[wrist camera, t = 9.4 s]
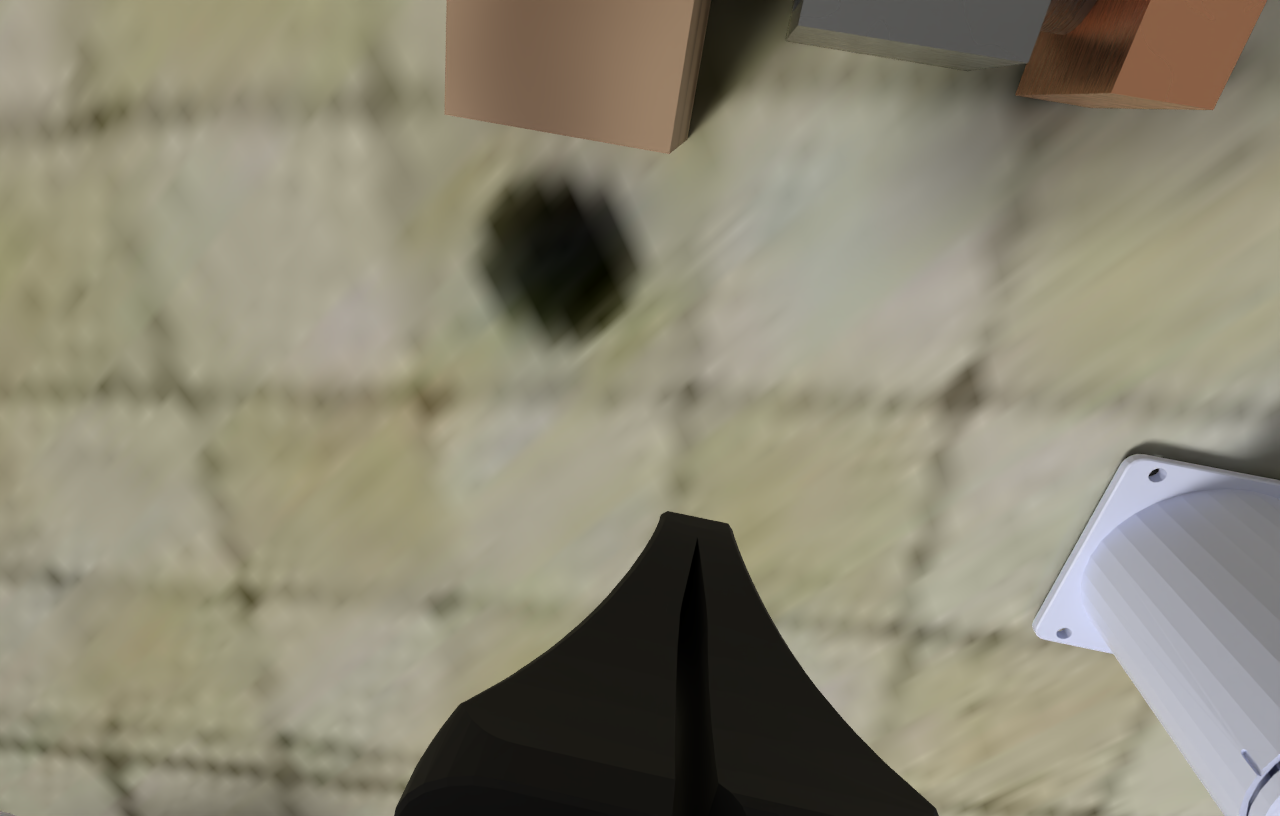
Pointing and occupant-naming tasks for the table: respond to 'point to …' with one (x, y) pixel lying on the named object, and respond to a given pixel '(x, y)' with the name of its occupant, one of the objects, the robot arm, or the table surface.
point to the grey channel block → (924, 29)
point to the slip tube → (1138, 52)
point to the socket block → (578, 67)
